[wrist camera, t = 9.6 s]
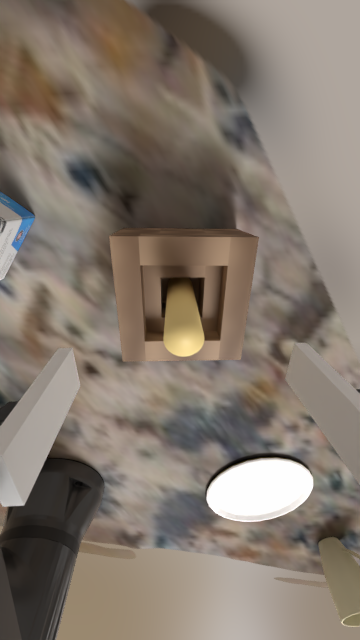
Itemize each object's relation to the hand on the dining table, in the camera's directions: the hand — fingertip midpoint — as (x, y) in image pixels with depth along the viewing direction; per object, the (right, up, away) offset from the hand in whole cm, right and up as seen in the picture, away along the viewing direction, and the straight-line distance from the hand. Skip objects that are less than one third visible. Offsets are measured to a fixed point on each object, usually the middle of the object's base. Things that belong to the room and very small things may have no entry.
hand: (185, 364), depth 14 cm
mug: (+36, -50, +44) cm, 75 cm away
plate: (+15, -30, +33) cm, 47 cm away
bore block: (0, +7, +14) cm, 15 cm away
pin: (0, +6, +13) cm, 14 cm away
